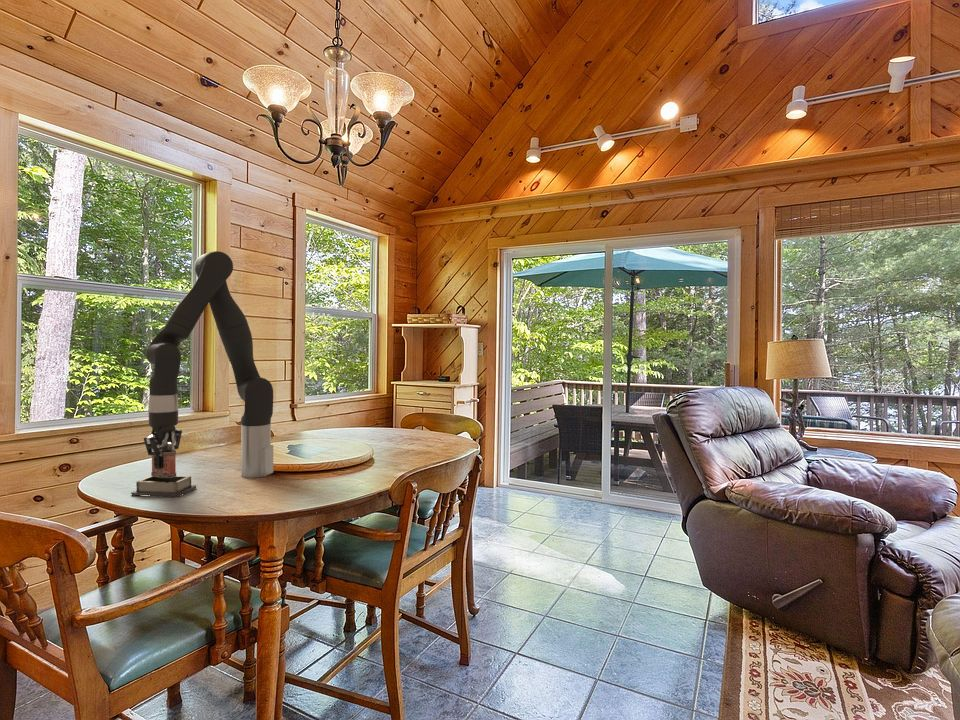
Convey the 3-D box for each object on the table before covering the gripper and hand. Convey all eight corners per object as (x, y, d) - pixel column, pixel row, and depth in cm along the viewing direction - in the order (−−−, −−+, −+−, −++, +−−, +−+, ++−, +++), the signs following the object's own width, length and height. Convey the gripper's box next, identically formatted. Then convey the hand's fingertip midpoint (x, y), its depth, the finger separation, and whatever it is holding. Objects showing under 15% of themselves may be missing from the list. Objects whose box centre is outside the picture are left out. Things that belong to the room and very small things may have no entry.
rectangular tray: (152, 487, 159) (152, 474, 159) (196, 488, 158) (196, 475, 158) (131, 495, 150) (130, 482, 150) (177, 497, 149) (176, 483, 149)
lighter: (179, 475, 154) (179, 442, 154) (169, 478, 151) (169, 444, 151) (158, 473, 156) (157, 440, 156) (148, 475, 153) (147, 442, 153)
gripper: (159, 413, 146) (159, 473, 146) (190, 406, 160) (190, 461, 160) (133, 412, 146) (134, 472, 147) (167, 406, 160) (167, 460, 161)
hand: (163, 466), depth 154 cm, fingers closed on lighter, 3 cm apart
